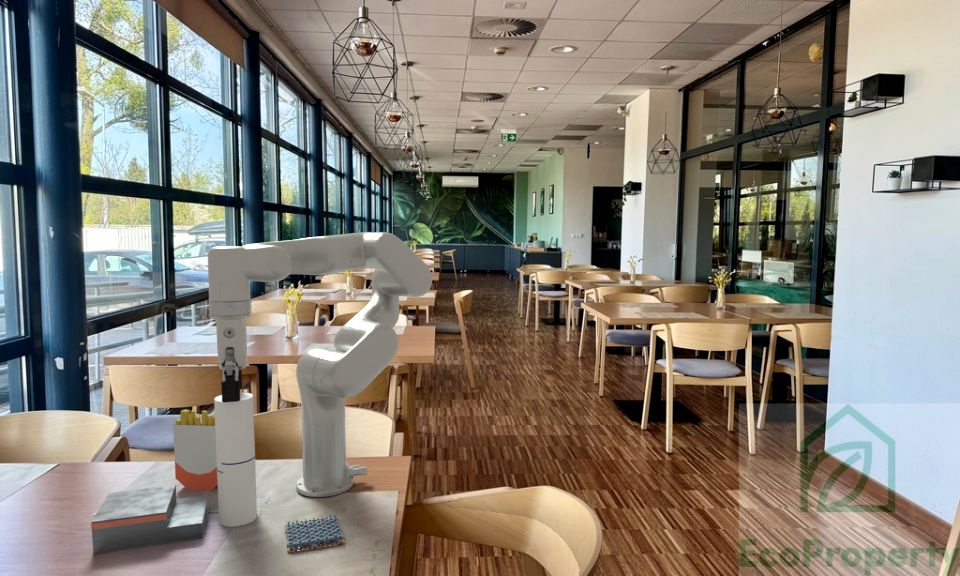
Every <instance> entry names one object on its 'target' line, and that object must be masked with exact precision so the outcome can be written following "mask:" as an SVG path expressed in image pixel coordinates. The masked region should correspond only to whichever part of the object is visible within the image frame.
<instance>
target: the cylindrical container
mask: <svg viewBox="0 0 960 576" xmlns="http://www.w3.org/2000/svg"><path fill="white" fill-rule="evenodd" d="M213 402H214V414H215V428H216V454H217V479H218V485H217V496H218V497H217V498H218V499H217V501H218V502H217V503H218V522H219V524H220V525H221V526H223V527H227V528H228V527H229V528H235V527H241V526H245V525H247V524H250V523H252V522H253V521H255V520H256V519H257V517H258V506H257V502H258V501H257V475H256V471H257V470H256V446H255V445H256V444H255V443H256V441H255V421H254V419H255V416H254V415H255V413H254V410H255V409H254V394H252V393H249V392H241V391H240V401H237V402H222V394H220V395H218V396H216V397H214V401H213ZM240 525H241V526H240Z"/></svg>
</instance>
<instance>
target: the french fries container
mask: <svg viewBox="0 0 960 576" xmlns="http://www.w3.org/2000/svg"><path fill="white" fill-rule="evenodd" d="M172 425H173V426H172V430H173V448H174V450H173V451H174V471H175V472H174V473H175V480H177V481H178V482H179V483H180V484H181V486H183V487H184V488H185V489H186V490H187V489H188V490H191V491H210V490H211V491H212V490H213V489H214V488H216V487H218V479H217V454H216V428H215V413H214V414H208V410H202V411H201V415H200V414H198V413H196V410H195V409H193V410H190V409H183V410H180V418H179V419H176V420H175V423H174V424H172Z"/></svg>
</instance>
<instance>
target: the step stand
mask: <svg viewBox="0 0 960 576" xmlns="http://www.w3.org/2000/svg"><path fill="white" fill-rule="evenodd" d="M209 508H210V505H209V495H208V494H206V495H198V496H189V497H182V498H177V485H176V484H173V485H165V486H155V487H148V488H138V489H131V490H123V491H121V490H120V491H116V492H115V491H113V492H108V494H107V495H106V497H105V498H104V500H103V502H102V504H101V506H100V507H99V509H98V511H97V512H96V514H95V515H94V517H93V519H92V521H91V523H90V526H91V527H90V529H91V538H92V554H93V555H94V554H95V555H97V554H103V553H109V552H115V551H116V552H117V551H122V550H123V551H124V550H131V549H137V548H138V549H139V548H145V547H150V546H158V545H164V544H165V545H166V544H170V543H172V544H173V543H178V542H185V541H192V540H193V541H194V540H199V539H203V537H204V534H205V529H206V524H207V519H208V515H209V510H210V509H209Z"/></svg>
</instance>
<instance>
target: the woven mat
mask: <svg viewBox="0 0 960 576" xmlns="http://www.w3.org/2000/svg"><path fill="white" fill-rule="evenodd" d="M339 520H340V518H339V516H337V515H333V516H332V515H329V518H328V516H326V517H325V518H324V516H321V517H320V518H319V517H318V518H317V519H316V518H315V517H313V518H312V519H308V520H307V519H304V520H300V522H299V520H298V519H297V520H295V521H296V522H294V521H292V522H291V524H290V521H287V524H286V525H285V526H284V528H285V529H284V530H285V531H284V532H285V538H286V539H287V543H286V544H285V545H286V546H287V548H286V552H287V553H289V554H291V553H290V552H293V553H298V551H297V549H299V550H300V551H299V552H302V551H301V550H302V549H303V548H304V549H303V550H305V549H311V550H316V549H319V548H318V547H322V548H325V547H324V546H328V547H330V546H329V545H334V546H338V545H344V544H345V543H346V540H345V539H343V538H344V537H345V535H344V533H343V532H342V531H343V529H342V525H341V522H340V521H339ZM334 525H335V526H334ZM300 527H301V528H300ZM301 533H302V534H301ZM305 535H306V536H305ZM302 538H303V539H302ZM338 538H339V539H338ZM297 539H298V540H297ZM324 540H326V541H324ZM316 541H317V542H316ZM320 541H321V542H320ZM329 542H330V543H329ZM324 543H327V544H324ZM320 544H321V545H320ZM303 546H304V547H303ZM307 546H309V547H307ZM297 547H300V548H297ZM288 548H289V549H288ZM293 548H295V549H293ZM312 548H314V549H312ZM287 549H288V550H287ZM294 551H295V552H294ZM305 551H306V550H305Z"/></svg>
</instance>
